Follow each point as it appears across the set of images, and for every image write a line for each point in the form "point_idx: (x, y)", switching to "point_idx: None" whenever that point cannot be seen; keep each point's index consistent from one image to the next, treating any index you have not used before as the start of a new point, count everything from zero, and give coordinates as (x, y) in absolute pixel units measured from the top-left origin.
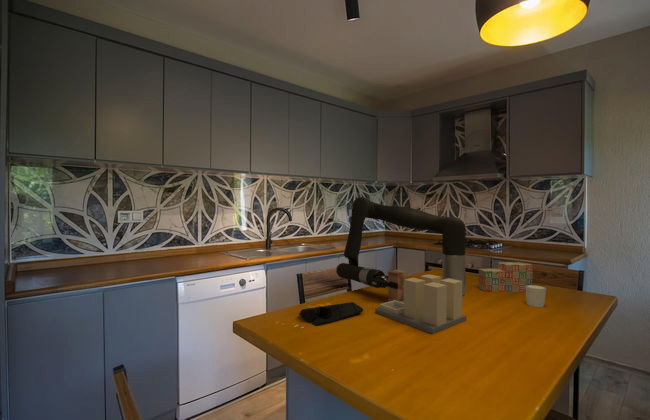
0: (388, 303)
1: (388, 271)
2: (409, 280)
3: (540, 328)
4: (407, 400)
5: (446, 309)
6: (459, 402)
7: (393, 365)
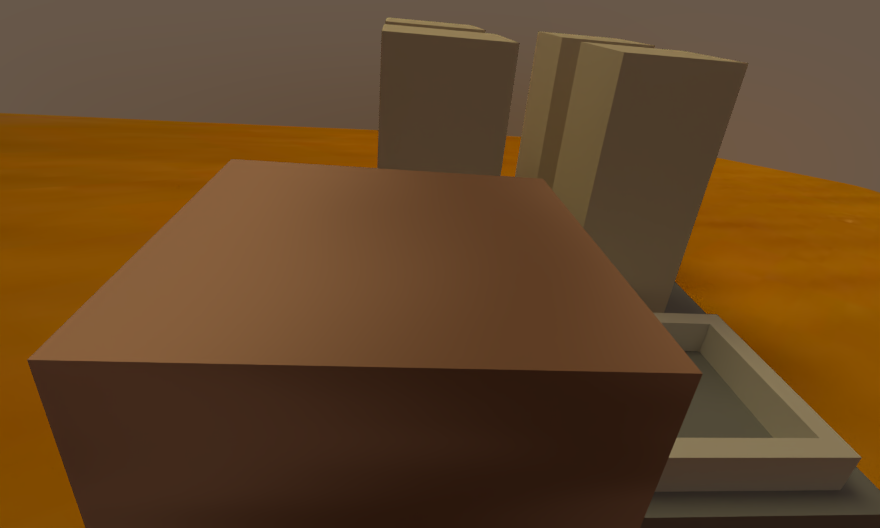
0: (732, 443)
1: (692, 370)
2: (706, 57)
3: (241, 149)
4: (835, 189)
5: (518, 158)
6: (735, 167)
7: (843, 225)
